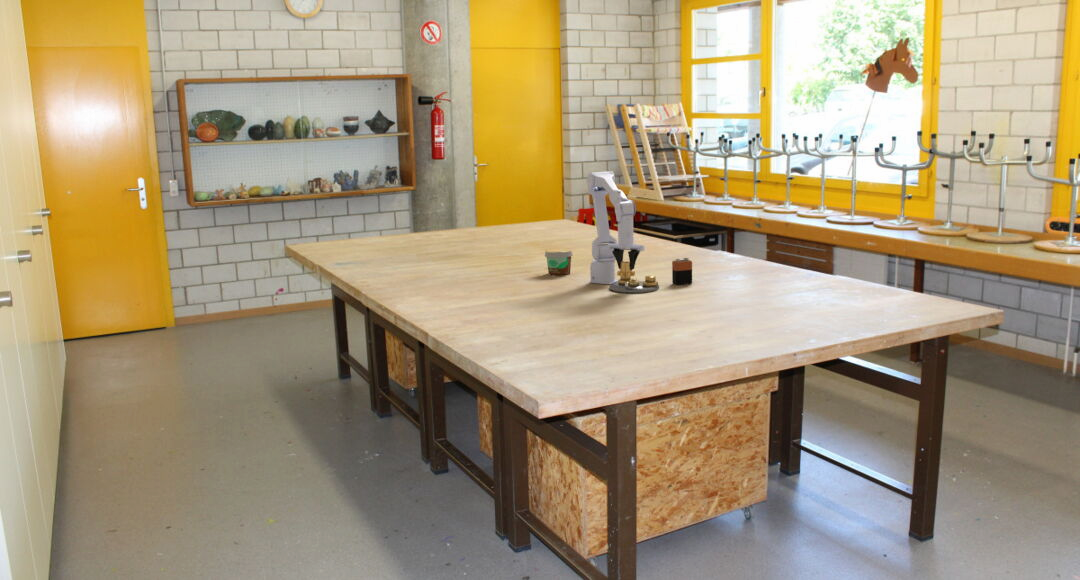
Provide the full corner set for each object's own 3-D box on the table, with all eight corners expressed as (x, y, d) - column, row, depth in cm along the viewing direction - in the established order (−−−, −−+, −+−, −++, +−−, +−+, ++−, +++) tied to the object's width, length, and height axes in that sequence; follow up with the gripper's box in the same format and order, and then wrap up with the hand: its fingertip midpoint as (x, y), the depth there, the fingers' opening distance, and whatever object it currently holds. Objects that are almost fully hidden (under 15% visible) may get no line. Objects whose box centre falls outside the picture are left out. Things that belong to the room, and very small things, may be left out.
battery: (692, 284, 348) (692, 258, 347) (676, 285, 347) (676, 260, 345) (688, 282, 353) (687, 257, 351) (671, 283, 351) (671, 258, 349)
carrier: (600, 291, 342) (600, 279, 341) (624, 282, 357) (623, 271, 356) (645, 295, 331) (645, 283, 330) (667, 285, 347) (667, 274, 346)
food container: (540, 275, 377) (540, 252, 375) (546, 273, 383) (545, 250, 381) (568, 276, 373) (567, 253, 371) (573, 274, 378) (572, 250, 376)
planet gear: (613, 275, 337) (613, 262, 336) (622, 272, 342) (622, 260, 341) (629, 277, 333) (629, 264, 332) (638, 274, 338) (638, 261, 338)
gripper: (603, 233, 335) (604, 269, 338) (638, 235, 327) (638, 271, 330) (612, 231, 341) (613, 266, 344) (646, 232, 333) (647, 268, 336)
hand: (626, 268), depth 337 cm, fingers closed on planet gear, 4 cm apart
